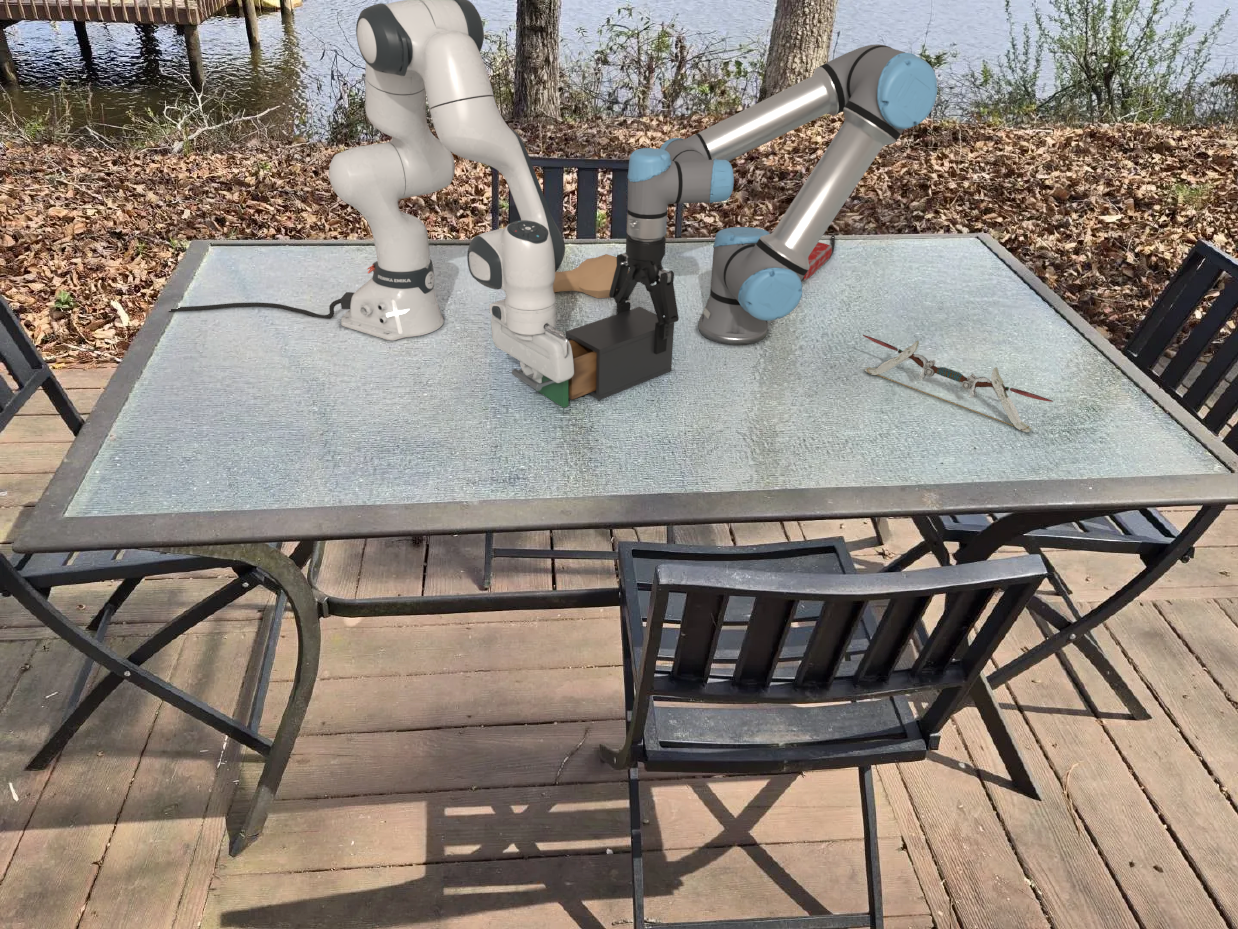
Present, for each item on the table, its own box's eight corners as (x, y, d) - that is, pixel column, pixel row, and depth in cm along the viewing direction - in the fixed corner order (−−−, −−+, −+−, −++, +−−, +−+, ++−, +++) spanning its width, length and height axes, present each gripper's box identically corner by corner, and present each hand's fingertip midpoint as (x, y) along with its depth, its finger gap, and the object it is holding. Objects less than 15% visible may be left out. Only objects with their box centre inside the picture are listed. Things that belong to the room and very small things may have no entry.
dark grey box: (599, 400, 169) (599, 349, 163) (565, 380, 175) (565, 331, 169) (671, 370, 180) (674, 322, 174) (637, 353, 186) (639, 306, 180)
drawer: (539, 417, 161) (538, 375, 156) (510, 398, 167) (508, 357, 162) (635, 379, 174) (637, 339, 169) (605, 363, 180) (606, 323, 175)
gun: (720, 263, 218) (793, 282, 210) (769, 227, 240) (836, 243, 232) (718, 280, 221) (790, 299, 213) (767, 243, 243) (833, 259, 235)
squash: (632, 302, 209) (628, 269, 203) (549, 309, 210) (543, 277, 204) (632, 277, 217) (628, 245, 210) (552, 285, 218) (546, 253, 212)
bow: (1043, 434, 162) (1060, 387, 156) (1039, 438, 161) (1056, 390, 155) (858, 366, 183) (867, 322, 178) (854, 369, 182) (862, 324, 177)
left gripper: (582, 330, 150) (582, 400, 158) (511, 293, 163) (514, 360, 171) (553, 340, 147) (554, 412, 155) (483, 302, 159) (488, 370, 167)
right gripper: (592, 223, 170) (591, 328, 183) (674, 256, 156) (667, 368, 168) (620, 216, 174) (618, 319, 187) (703, 248, 160) (694, 357, 173)
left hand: (533, 384), depth 163 cm, fingers closed, pressing on drawer
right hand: (641, 342), depth 178 cm, fingers closed on dark grey box, 10 cm apart
